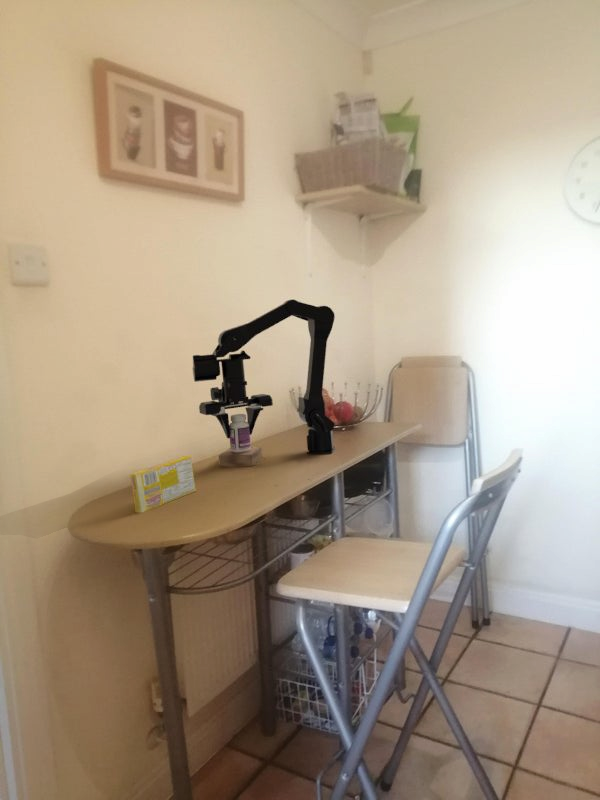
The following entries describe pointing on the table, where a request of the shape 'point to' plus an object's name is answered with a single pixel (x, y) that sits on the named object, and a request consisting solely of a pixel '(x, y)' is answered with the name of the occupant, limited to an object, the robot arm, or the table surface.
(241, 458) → the tan flat square block
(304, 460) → the table surface
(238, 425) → the pill bottle
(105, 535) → the table surface
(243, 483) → the table surface
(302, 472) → the table surface
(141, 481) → the candy box
